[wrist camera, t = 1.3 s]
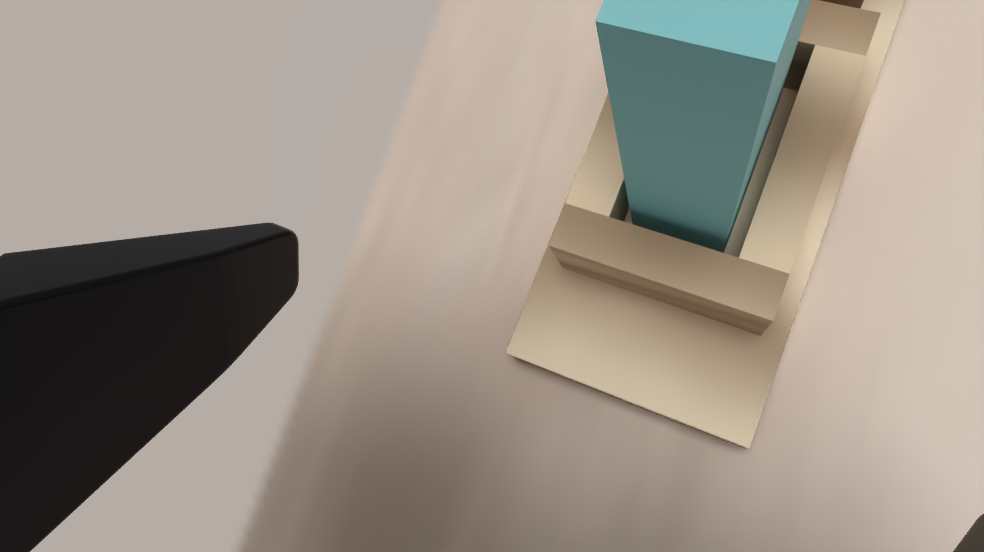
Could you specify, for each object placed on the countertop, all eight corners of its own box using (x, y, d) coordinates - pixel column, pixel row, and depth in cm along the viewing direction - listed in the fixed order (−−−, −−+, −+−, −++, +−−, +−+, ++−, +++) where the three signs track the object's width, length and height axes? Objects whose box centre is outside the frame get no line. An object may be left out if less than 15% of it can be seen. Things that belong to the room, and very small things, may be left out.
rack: (744, 447, 20) (760, 450, 16) (514, 357, 22) (483, 341, 18) (939, -113, 22) (990, -219, 18) (711, -147, 24) (718, -248, 20)
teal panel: (720, 261, 20) (776, 63, 9) (634, 233, 20) (595, 21, 10) (779, 99, 20) (893, -258, 10) (693, 78, 21) (714, -275, 11)
